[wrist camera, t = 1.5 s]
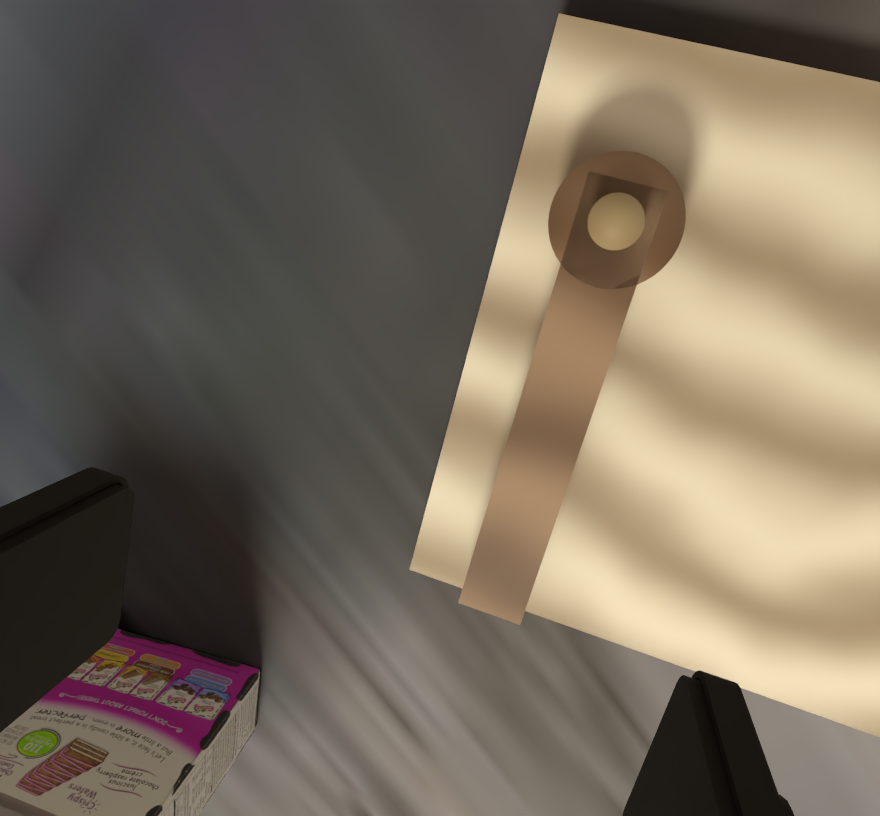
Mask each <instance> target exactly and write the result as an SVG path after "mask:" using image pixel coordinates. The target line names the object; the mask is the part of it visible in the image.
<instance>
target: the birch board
mask: <svg viewBox="0 0 880 816" xmlns="http://www.w3.org/2000/svg"><path fill="white" fill-rule="evenodd" d="M614 151H631V152H636V153H640V154H643V155H646V156H648V157H651V158H653V159H655V160H656V161H658V162H659V163H660V164H662V165H663V166H664V167H665V168H666V169H667V170H669V172H670V173H671V174H672V175H673V177H674V178H675V180H676V181H677V183H678V185H679V187H680V189H681V191H682V194H683V198H684V202H685V209H686V222H685V229H684V233H683V236H682V240H681V242H680V244H679V247H678V249H677V250H676V252H675V254H674V255H673V257H672V258H671V259H670V261H669V262H668V263H667V264H666V265H665V266H664V267H663V268H662V270H660V271H659V272H658V273H657V274H655V275H654V276H653V277H651V278H649V279H648V280H646V281H644V282H642V283H640V284H638V285H637V286H636V289H635V292H634V295H633V297H632V300H631V303H630V306H629V309H628V312H627V315H626V318H625V321H624V324H623V327H622V330H621V332H620V335H619V338H618V341H617V344H616V347H615V350H614V353H613V356H612V359H611V362H610V364H609V367H608V370H607V373H606V376H605V379H604V382H603V385H602V388H601V391H600V394H599V397H598V399H597V402H596V405H595V408H594V411H593V414H592V417H591V420H590V423H589V426H588V429H587V431H586V434H585V437H584V440H583V443H582V446H581V449H580V452H579V455H578V458H577V461H576V464H575V466H574V469H573V472H572V475H571V478H570V481H569V484H568V487H567V490H566V493H565V496H564V498H563V501H562V504H561V507H560V510H559V513H558V516H557V519H556V522H555V525H554V528H553V531H552V533H551V536H550V539H549V542H548V545H547V548H546V551H545V554H544V557H543V560H542V563H541V565H540V568H539V571H538V574H537V577H536V580H535V583H534V586H533V589H532V592H531V595H530V598H529V600H528V603H527V606H526V609H525V611H527V612H530V613H533V614H536V615H538V616H541V617H544V618H547V619H550V620H552V621H555V622H558V623H561V624H564V625H566V626H569V627H572V628H575V629H578V630H581V631H583V632H586V633H589V634H592V635H595V636H597V637H600V638H603V639H606V640H609V641H611V642H614V643H617V644H620V645H623V646H625V647H628V648H631V649H634V650H637V651H639V652H642V653H645V654H648V655H651V656H653V657H656V658H659V659H662V660H665V661H667V662H670V663H673V664H676V665H679V666H681V667H684V668H687V669H690V670H693V671H699V670H700V671H703V672H706V673H709V674H712V675H715V676H718V677H721V678H724V679H727V680H730V681H733V682H735V683H737V684H738V685H739V687H740V688H743V689H746V690H749V691H752V692H754V693H757V694H760V695H763V696H766V697H768V698H771V699H774V700H777V701H780V702H782V703H785V704H788V705H791V706H794V707H797V708H799V709H802V710H805V711H808V712H811V713H813V714H816V715H819V716H822V717H825V718H827V719H830V720H833V721H836V722H839V723H841V724H844V725H847V726H850V727H853V728H855V729H858V730H861V731H864V732H867V733H869V734H872V735H875V736H878V737H880V82H877V81H872V80H867V79H863V78H858V77H853V76H849V75H844V74H839V73H835V72H830V71H825V70H821V69H816V68H811V67H807V66H802V65H797V64H793V63H788V62H783V61H779V60H774V59H769V58H765V57H760V56H755V55H751V54H746V53H741V52H737V51H732V50H727V49H723V48H718V47H713V46H709V45H704V44H699V43H695V42H690V41H686V40H681V39H676V38H672V37H667V36H662V35H658V34H653V33H648V32H644V31H639V30H634V29H630V28H625V27H620V26H616V25H611V24H606V23H602V22H597V21H592V20H588V19H583V18H578V17H574V16H569V15H564V14H560V13H559V15H558V18H557V22H556V26H555V30H554V33H553V37H552V41H551V45H550V48H549V52H548V56H547V59H546V63H545V67H544V71H543V74H542V78H541V82H540V86H539V89H538V93H537V97H536V100H535V104H534V108H533V112H532V115H531V119H530V123H529V127H528V130H527V134H526V138H525V141H524V145H523V149H522V153H521V156H520V160H519V164H518V167H517V171H516V175H515V179H514V182H513V186H512V190H511V194H510V197H509V201H508V205H507V208H506V212H505V216H504V220H503V223H502V227H501V231H500V235H499V238H498V242H497V246H496V249H495V253H494V257H493V261H492V264H491V268H490V272H489V276H488V279H487V283H486V287H485V290H484V294H483V298H482V302H481V305H480V309H479V313H478V317H477V320H476V324H475V328H474V331H473V335H472V339H471V343H470V346H469V350H468V354H467V357H466V361H465V365H464V369H463V372H462V376H461V380H460V384H459V387H458V391H457V395H456V398H455V402H454V406H453V410H452V413H451V417H450V421H449V425H448V428H447V432H446V436H445V439H444V443H443V447H442V451H441V454H440V458H439V462H438V466H437V469H436V473H435V477H434V480H433V484H432V488H431V492H430V495H429V499H428V503H427V506H426V510H425V514H424V518H423V521H422V525H421V529H420V533H419V536H418V540H417V544H416V547H415V551H414V555H413V559H412V562H411V566H410V570H412V571H415V572H418V573H421V574H423V575H426V576H429V577H432V578H435V579H437V580H440V581H443V582H446V583H449V584H451V585H454V586H457V587H460V588H463V585H464V582H465V579H466V575H467V572H468V569H469V566H470V562H471V559H472V556H473V552H474V549H475V546H476V542H477V539H478V536H479V532H480V529H481V526H482V523H483V519H484V516H485V513H486V509H487V506H488V503H489V499H490V496H491V493H492V489H493V486H494V483H495V480H496V476H497V473H498V470H499V466H500V463H501V460H502V456H503V453H504V450H505V446H506V443H507V440H508V437H509V433H510V430H511V427H512V423H513V420H514V417H515V413H516V410H517V407H518V403H519V400H520V397H521V394H522V390H523V387H524V384H525V380H526V377H527V374H528V370H529V367H530V364H531V360H532V357H533V354H534V351H535V347H536V344H537V341H538V337H539V334H540V331H541V327H542V324H543V321H544V317H545V314H546V311H547V308H548V304H549V301H550V298H551V294H552V291H553V288H554V284H555V281H556V278H557V274H558V271H559V268H560V265H561V264H560V262H559V261H558V259H557V257H556V256H555V253H554V251H553V249H552V246H551V243H550V239H549V232H548V219H549V212H550V207H551V204H552V201H553V198H554V196H555V194H556V192H557V190H558V188H559V186H560V185H561V183H562V182H563V180H564V179H565V178H566V177H567V176H568V175H569V173H571V172H572V171H573V170H574V169H575V168H576V167H577V166H579V165H580V164H582V163H583V162H585V161H586V160H588V159H590V158H592V157H595V156H597V155H600V154H603V153H607V152H614Z"/></svg>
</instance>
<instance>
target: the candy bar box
mask: <svg viewBox="0 0 880 816" xmlns="http://www.w3.org/2000/svg"><path fill="white" fill-rule="evenodd" d="M259 679H260V670H259V669H257V668H255V667H251V666H248V665H244V664H241V663H238V662H234V661H231V660H227V659H224V658H220V657H216V656H213V655H209V654H206V653H202V652H199V651H195V650H191V649H188V648H184V647H181V646H177V645H174V644H170V643H167V642H163V641H160V640H156V639H152V638H148V637H145V636H141V635H138V634H134V633H131V632H128V631H124V630H121V629H117V631H116V632H115V634H114V636H113V637H112V638H111V640H110V641H109V642H108V643H107V644H106V645H105V646H103V647H102V648H101V649H100V650H99V651H97V652H96V653H95V654H94V655H93V656H91V657H90V658H89V659H88V660H87V661H85V662H84V663H83V664H82V665H81V666H79V667H78V668H77V669H76V670H75V671H73V672H72V673H71V674H70V675H69V676H68V677H66V678H65V679H64V680H63V681H62V682H60V683H59V684H58V685H57V686H56V687H54V688H53V689H52V690H51V691H50V692H48V693H47V694H46V695H45V696H44V697H42V698H41V699H40V700H39V701H38V702H36V703H35V704H34V705H33V706H32V707H30V708H29V709H28V710H27V711H26V712H24V713H23V714H22V715H21V716H20V717H19V718H17V719H16V720H15V721H14V722H13V723H11V724H10V725H9V726H8V727H7V728H5V729H4V730H3V731H2V732H1V733H0V792H2V793H4V794H7V795H9V796H12V797H14V798H17V799H19V800H21V801H24V802H26V803H29V804H31V805H33V806H36V807H38V808H41V809H43V810H45V811H48V812H50V813H53V814H55V815H57V816H199V814H200V812H201V811H202V809H203V808H204V806H205V805H206V803H207V802H208V800H209V799H210V797H211V796H212V794H213V793H214V791H215V790H216V788H217V787H218V785H219V784H220V782H221V781H222V779H223V778H224V776H225V775H226V773H227V772H228V770H229V769H230V767H231V765H232V764H233V762H234V761H235V759H236V758H237V756H238V755H239V753H240V752H241V750H242V749H243V747H244V746H245V744H246V743H247V741H248V740H249V738H250V737H251V735H252V733H253V732H254V730H255V728H256V720H257V699H258V691H259Z"/></svg>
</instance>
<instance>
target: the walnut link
mask: <svg viewBox="0 0 880 816" xmlns="http://www.w3.org/2000/svg"><path fill="white" fill-rule="evenodd" d="M685 222H686V209H685V202H684V198H683V194H682V191H681V189H680V187H679V185H678V183H677V181H676V180H675V178H674V177H673V175H672V174H671V173H670V172H669V170H667V169H666V168H665V167H664V166H663V165H662V164H660V163H659V162H658V161H656V160H655V159H653V158H651V157H648V156H646V155H643V154H640V153H636V152H631V151H614V152H607V153H603V154H600V155H597V156H595V157H592V158H590V159H588V160H586V161H585V162H583V163H582V164H580V165H579V166H577V167H576V168H575V169H574V170H573V171H572V172H571V173H569V175H568V176H567V177H566V178H565V179H564V180H563V182H562V183H561V185H560V186H559V188H558V190H557V192H556V194H555V196H554V198H553V201H552V204H551V207H550V212H549V219H548V232H549V239H550V243H551V246H552V249H553V251H554V253H555V256H556V257H557V259H558V261H559V262H560V264H561V265H560V268H559V271H558V274H557V278H556V281H555V284H554V288H553V291H552V294H551V298H550V301H549V304H548V308H547V311H546V314H545V317H544V321H543V324H542V327H541V331H540V334H539V337H538V341H537V344H536V347H535V351H534V354H533V357H532V360H531V364H530V367H529V370H528V374H527V377H526V380H525V384H524V387H523V390H522V394H521V397H520V400H519V403H518V407H517V410H516V413H515V417H514V420H513V423H512V427H511V430H510V433H509V437H508V440H507V443H506V446H505V450H504V453H503V456H502V460H501V463H500V466H499V470H498V473H497V476H496V480H495V483H494V486H493V489H492V493H491V496H490V499H489V503H488V506H487V509H486V513H485V516H484V519H483V523H482V526H481V529H480V532H479V536H478V539H477V542H476V546H475V549H474V552H473V556H472V559H471V562H470V566H469V569H468V572H467V575H466V579H465V582H464V585H463V589H462V592H461V595H460V599H459V602H458V603H460V604H463V605H466V606H469V607H471V608H474V609H477V610H480V611H483V612H485V613H488V614H491V615H494V616H496V617H499V618H502V619H505V620H508V621H510V622H513V623H516V624H519V625H520V624H521V621H522V618H523V615H524V612H525V609H526V606H527V603H528V600H529V598H530V595H531V592H532V589H533V586H534V583H535V580H536V577H537V574H538V571H539V568H540V565H541V563H542V560H543V557H544V554H545V551H546V548H547V545H548V542H549V539H550V536H551V533H552V531H553V528H554V525H555V522H556V519H557V516H558V513H559V510H560V507H561V504H562V501H563V498H564V496H565V493H566V490H567V487H568V484H569V481H570V478H571V475H572V472H573V469H574V466H575V464H576V461H577V458H578V455H579V452H580V449H581V446H582V443H583V440H584V437H585V434H586V431H587V429H588V426H589V423H590V420H591V417H592V414H593V411H594V408H595V405H596V402H597V399H598V397H599V394H600V391H601V388H602V385H603V382H604V379H605V376H606V373H607V370H608V367H609V364H610V362H611V359H612V356H613V353H614V350H615V347H616V344H617V341H618V338H619V335H620V332H621V330H622V327H623V324H624V321H625V318H626V315H627V312H628V309H629V306H630V303H631V300H632V297H633V295H634V292H635V289H636V286H637V285H638V284H640V283H642V282H644V281H646V280H648V279H649V278H651V277H653V276H654V275H655V274H657V273H658V272H659V271H660V270H662V268H663V267H664V266H665V265H666V264H667V263H668V262H669V261H670V259H671V258H672V257H673V255H674V254H675V252H676V250H677V249H678V247H679V244H680V242H681V240H682V236H683V233H684V229H685Z"/></svg>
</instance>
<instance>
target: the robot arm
mask: <svg viewBox="0 0 880 816" xmlns="http://www.w3.org/2000/svg"><path fill="white" fill-rule="evenodd" d="M133 501H134V494H133V491H132V490H131V489H130V488H128V484H127V481H126V479H124V478H123V477H121V476H118V475H115V474H112V473H109V472H106V471H103V470H100V469H97V468H92V467H91V468H87V469H84V470H82V471H80V472H78V473H76V474H73V475H71V476H69V477H67V478H64V479H62V480H60V481H58V482H56V483H53V484H51V485H49V486H47V487H44V488H42V489H40V490H38V491H36V492H33V493H31V494H29V495H27V496H24V497H22V498H20V499H18V500H16V501H13V502H11V503H9V504H7V505H4V506H2V507H0V733H1V732H2V731H3V730H4V729H5V728H7V727H8V726H9V725H10V724H11V723H13V722H14V721H15V720H16V719H17V718H19V717H20V716H21V715H22V714H23V713H24V712H26V711H27V710H28V709H29V708H30V707H32V706H33V705H34V704H35V703H36V702H38V701H39V700H40V699H41V698H42V697H44V696H45V695H46V694H47V693H48V692H50V691H51V690H52V689H53V688H54V687H56V686H57V685H58V684H59V683H60V682H62V681H63V680H64V679H65V678H66V677H68V676H69V675H70V674H71V673H72V672H73V671H75V670H76V669H77V668H78V667H79V666H81V665H82V664H83V663H84V662H85V661H87V660H88V659H89V658H90V657H91V656H93V655H94V654H95V653H96V652H97V651H99V650H100V649H101V648H102V647H103V646H105V645H106V644H107V643H108V642H109V641H110V640H111V638H112V637H113V636H114V634H115V632H116V631H117V628H118V626H119V622H120V616H121V607H122V598H123V590H124V581H125V572H126V563H127V554H128V545H129V536H130V527H131V518H132V510H133ZM0 816H57V815H55V814H53V813H50V812H48V811H45V810H43V809H41V808H38V807H36V806H33V805H31V804H29V803H26V802H24V801H21V800H19V799H17V798H14V797H12V796H9V795H7V794H4V793H2V792H0ZM623 816H794V814H793V811H792V809H791V807H790V805H789V803H788V801H787V800H786V799H784V798H783V797H782V796H781V795H778V792H777V789H776V786H775V784H774V781H773V778H772V775H771V772H770V769H769V767H768V764H767V761H766V758H765V755H764V753H763V750H762V747H761V744H760V741H759V739H758V736H757V733H756V730H755V727H754V725H753V722H752V719H751V716H750V713H749V711H748V708H747V705H746V702H745V699H744V697H743V694H742V691H741V688H740V687H739V685H738V684H737V683H735V682H733V681H730V680H727V679H724V678H721V677H718V676H715V675H712V674H709V673H706V672H703V671H700V670H699V671H696V672H695V673H694V674H693V676H692V678H690V677H687V676H684V675H683V676H681V677H680V678H679V680H678V682H677V684H676V686H675V689H674V691H673V693H672V696H671V698H670V701H669V703H668V705H667V708H666V710H665V713H664V715H663V717H662V720H661V722H660V725H659V727H658V729H657V732H656V734H655V737H654V739H653V741H652V744H651V746H650V749H649V751H648V753H647V756H646V758H645V761H644V763H643V765H642V768H641V770H640V773H639V775H638V777H637V780H636V782H635V785H634V787H633V789H632V792H631V794H630V797H629V799H628V801H627V804H626V806H625V809H624V812H623Z"/></svg>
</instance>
